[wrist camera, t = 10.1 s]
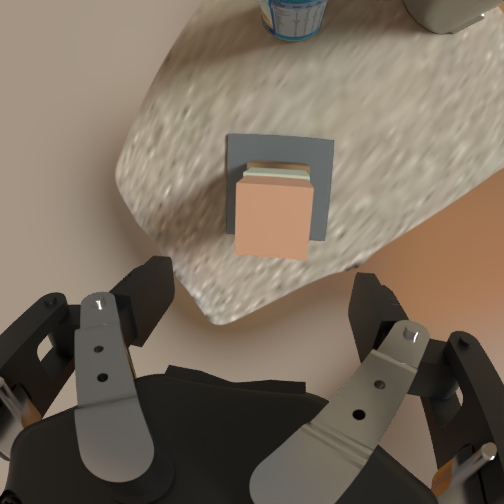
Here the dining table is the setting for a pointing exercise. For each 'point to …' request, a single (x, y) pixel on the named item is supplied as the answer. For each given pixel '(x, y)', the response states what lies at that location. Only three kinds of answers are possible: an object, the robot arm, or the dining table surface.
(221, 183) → the dining table surface
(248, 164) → the walnut block
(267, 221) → the terracotta cube
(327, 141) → the slate mat
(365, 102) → the dining table surface
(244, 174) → the sage block
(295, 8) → the beverage bottle
